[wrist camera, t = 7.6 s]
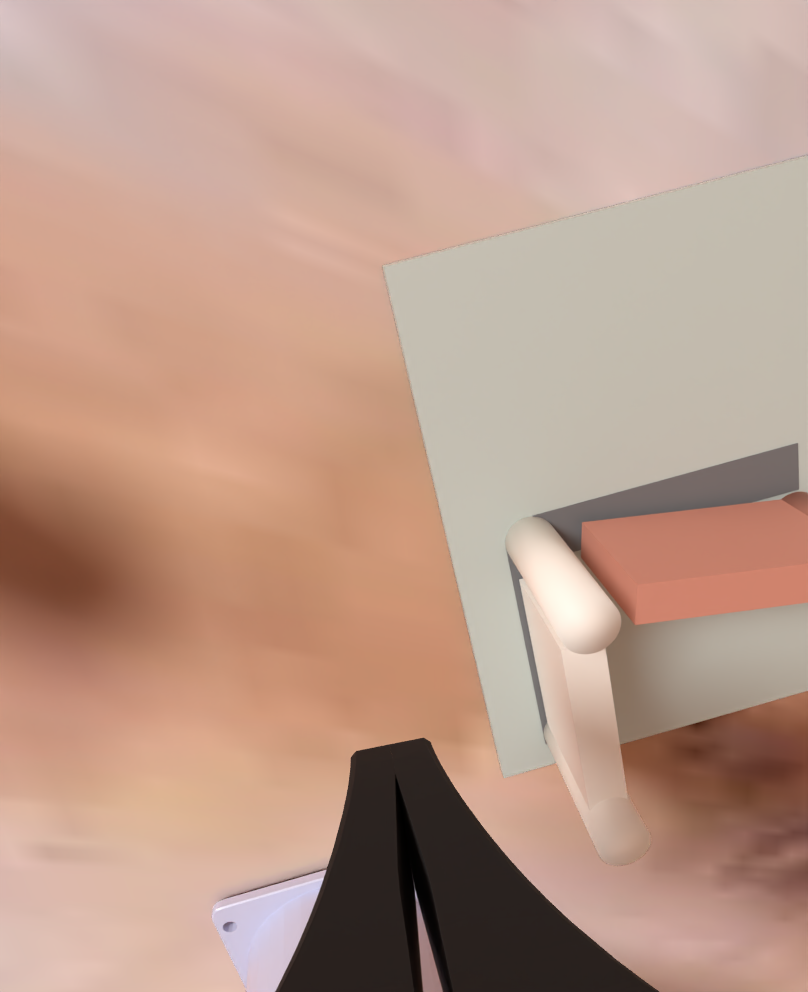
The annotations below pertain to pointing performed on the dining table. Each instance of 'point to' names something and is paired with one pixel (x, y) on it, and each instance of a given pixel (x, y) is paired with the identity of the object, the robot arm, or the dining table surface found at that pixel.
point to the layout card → (617, 424)
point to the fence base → (577, 685)
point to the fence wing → (702, 559)
